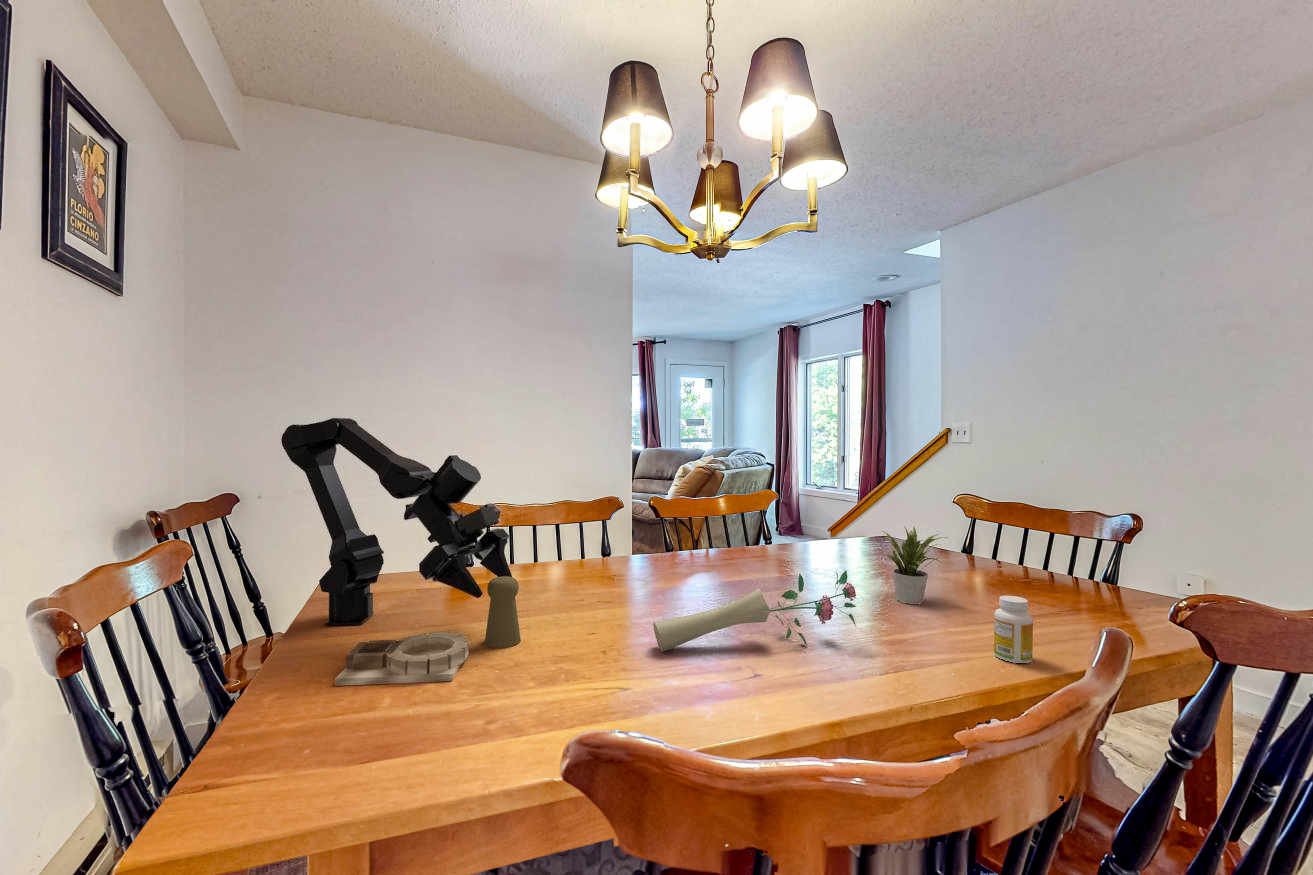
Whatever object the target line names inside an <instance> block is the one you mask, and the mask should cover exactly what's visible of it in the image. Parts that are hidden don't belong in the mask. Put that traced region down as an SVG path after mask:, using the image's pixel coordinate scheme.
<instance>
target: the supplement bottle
mask: <svg viewBox="0 0 1313 875" xmlns="http://www.w3.org/2000/svg"><path fill="white" fill-rule="evenodd" d="M998 602H999V603H998V604H999V607H1000V608H997V609H996V610H995V611H994V614H993V615H994V616H993V620H994V621H993V625H994V626H993V655H994V657H996V658H997V657H998V658H997V659H999V658H1000V659H999V660H1001V659H1003V660H1005V661H1004V662H1006V661H1009V662H1008V663H1010V662H1013V663H1012V664H1016V663H1027V664H1030V663H1032V662H1033V643H1034V642H1033V640H1034V637H1033V636H1034V634H1033V633H1034V619H1033V618H1034V617H1033V616H1032V615H1031V613H1029V612H1027V611H1028V610H1029V600H1028V599H1026V598H1024V597H1021V596H1016V595H1015V596H1014V595H1001V596H999V601H998ZM1003 660H1002V661H1003ZM1029 662H1030V663H1029Z"/></svg>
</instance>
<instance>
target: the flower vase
mask: <svg viewBox="0 0 1313 875" xmlns="http://www.w3.org/2000/svg"><path fill="white" fill-rule="evenodd" d="M835 574H836V582H835V584H834V587H835V592H838V588H839V587H840V585H844V587H843V588H842V589H841V591H842V593H839V594H835V595H832V596H827V595H826V594H825V595H822V598H820V599H817V600H813V601H809V602H808V601H807V602H802V603H798V604H796V602H797V600H798V597H799V594H800V593H802V592H803V591H804V586H805V582H804V577H803V576H802V573H800V572H799V574H798V578H797V580H798V582H797V587H798V589H797V592H796V591H795V590H793V589H788V590H787V591H785V592H784V593H782V595H780V597H781V598H784V599H785V601H784V602H783V605H781V604H780V601H777V604H778V605H777V606H774V607H771V608H769V605H768V603H767V601H766V599H765V597H764V594H763V593H762V591H761V589H760V587H758V588H756V589H755V590H753V591H752V592H750V593H748V594H747V595H745V596H744V597H742V598H738V599H737V600H735V601H733V602H729V603H728V604H724V605H722V606H718V607H716V608H713V609H708V610H704V611H701V612H698V613H697V612H696V613H693V614H689V615H688V614H687V615H682V616H678V617H673V618H668V619H663V620H658V621H653V624H652V625H653V632H654V636H655V640H656V643H657V645H658V648H659V651H660V652H661V653H663V652H666V651H669V650H671V649H674V648H676V647H678V646H680V645H681V646H682V645H683V644H686V643H688V642H690V641H692V640H695V639H698V638H700V637H703V636H705V635H707V634H711V633H713V632H716V631H719V630H723V629H726V628H730V627H733V626H737V625H740V624H741V625H743V624H751V623H752V624H754V623H766V622H767V620H768V617H769V616H770V614H771V613H770V612H779V613H780V614H781V615H783V613H782V611H787V610H803V609H810V610H811V609H812V610H813V609H814V610H815V613H814V615H813V617H815V616H817V617H818V619H819V622H821V625H823V624H824V625H825V624H827V623H826V621H831V619H832V618H833V617H832V616H833V615H834V610H833V609H834V608H836V609H837V610H838V611H840V612H841V613H843V614H845V615H847V616H848V617H849V619H850V620H851V621H852V622H853V624H854V626H855V628H856V626H857V625H856V621H855V618H854V615H853V614H852V613H849V614H847V613H845V612H843V611H842V610H841V609H842V608H847V609H848V608H856V607H857V605H855V604H854V603H852V602H853V601H854V599H856V597H857V593H856V588H855V586H854V585H852V583H850V582H848V576H849V575H848V572H847V570H845V571H844V572H842V573H841V575H840V577H839V575H838V572H837V571H836V572H835ZM836 585H838V586H837V587H836ZM840 596H844V599H846V598H847V599H849V601H850V602H847V601H846V602H844V604H843V606H836V605H834V604H833V601H831V599H834V598H836V597H840ZM791 599H792V600H793V601H794V603H793V604H792V605H789V606H785V607H784V605H785V602H786V601H787V600H791ZM808 604H809V605H810V604H814V605H815V606H804V605H808ZM778 607H779V608H778ZM840 608H841V609H840ZM773 617H775V618H776V619H778V620H779V621H780V622H781V624H782V626H784V625H785V624H784V623H785V622H783V620H782V619H780V617H779V615H777V614H775V615H773ZM784 618H785V619H786V621H788V625H787V626H788V629H787V630H786V635H785V638H787V639H789V638H790V637H791V635H792V630H791V628H790V627H792V629H793V631H794V632H795V633H796V634H797V635H798V636H799V637H800V638H801V640H802V642H803V644H804V645H805V646H807V647H808V644H807V641H806V639H805V636H804V634H803V633H802V632H797V631H796V630H795V629H794V627H793V626H792V625H791V622H793V623H794V624H795V625H796V626H797V627H798V628H801V627H802V625H801V622H800V620H799V619H798V618H797V617H794V620H793V621H792V619H789V618H787V617H786V616H784Z"/></svg>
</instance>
